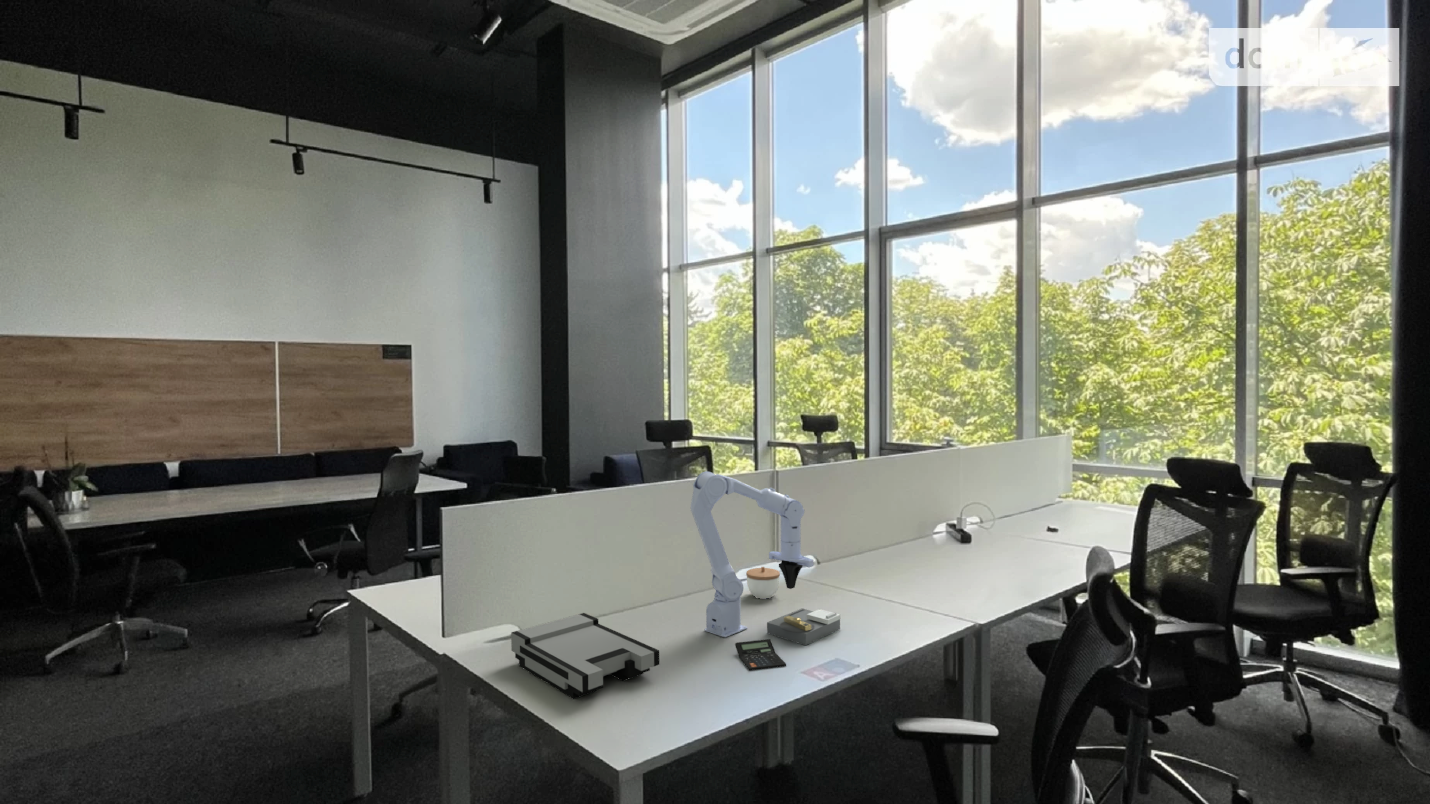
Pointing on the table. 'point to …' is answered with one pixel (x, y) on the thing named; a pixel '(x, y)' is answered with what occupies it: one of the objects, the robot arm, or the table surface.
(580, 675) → the game console
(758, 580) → the lidded jar
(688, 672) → the table surface
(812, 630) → the grey flat block
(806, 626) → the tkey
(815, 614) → the hatch cover
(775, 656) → the calculator
